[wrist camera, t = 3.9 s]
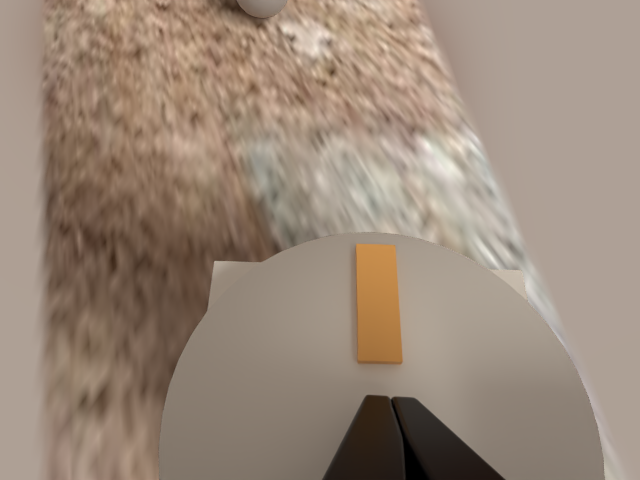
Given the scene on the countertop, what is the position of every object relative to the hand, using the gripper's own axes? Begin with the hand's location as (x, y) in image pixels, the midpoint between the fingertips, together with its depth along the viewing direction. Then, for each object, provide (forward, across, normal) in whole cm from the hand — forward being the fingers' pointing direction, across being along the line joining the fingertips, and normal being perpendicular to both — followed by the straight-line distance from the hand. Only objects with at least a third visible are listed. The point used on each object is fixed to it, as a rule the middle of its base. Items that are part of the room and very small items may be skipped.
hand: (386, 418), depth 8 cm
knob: (+5, 0, +5) cm, 7 cm away
